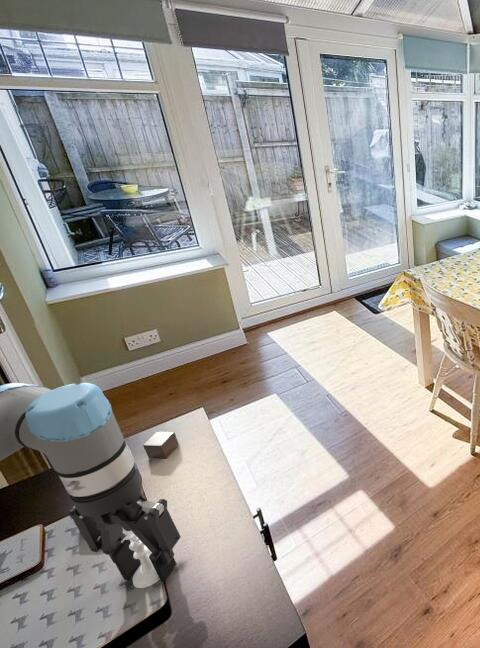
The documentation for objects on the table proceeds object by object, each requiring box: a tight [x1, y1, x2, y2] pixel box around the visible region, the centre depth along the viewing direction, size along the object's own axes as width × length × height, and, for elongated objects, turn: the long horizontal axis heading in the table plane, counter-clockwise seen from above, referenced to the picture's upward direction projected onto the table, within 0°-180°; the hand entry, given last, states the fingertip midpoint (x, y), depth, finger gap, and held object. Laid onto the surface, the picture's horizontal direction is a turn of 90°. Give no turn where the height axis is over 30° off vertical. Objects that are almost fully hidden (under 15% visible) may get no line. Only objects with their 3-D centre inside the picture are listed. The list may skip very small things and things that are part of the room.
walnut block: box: [142, 431, 180, 460], centre depth 94 cm, size 4×4×4 cm
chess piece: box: [128, 533, 161, 589], centre depth 70 cm, size 5×5×10 cm
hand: (150, 571), depth 71 cm, fingers open, 5 cm apart
